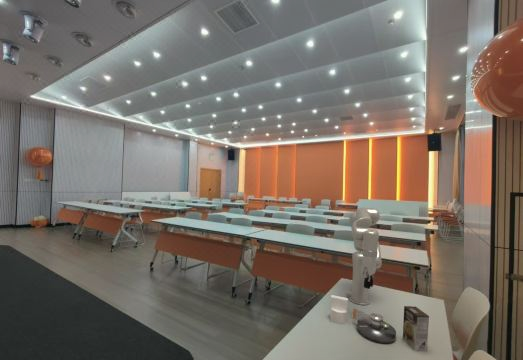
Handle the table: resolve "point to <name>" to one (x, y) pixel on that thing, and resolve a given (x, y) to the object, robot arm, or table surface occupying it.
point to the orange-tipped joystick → (369, 318)
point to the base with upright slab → (339, 309)
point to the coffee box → (415, 328)
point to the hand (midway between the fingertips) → (368, 286)
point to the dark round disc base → (377, 332)
